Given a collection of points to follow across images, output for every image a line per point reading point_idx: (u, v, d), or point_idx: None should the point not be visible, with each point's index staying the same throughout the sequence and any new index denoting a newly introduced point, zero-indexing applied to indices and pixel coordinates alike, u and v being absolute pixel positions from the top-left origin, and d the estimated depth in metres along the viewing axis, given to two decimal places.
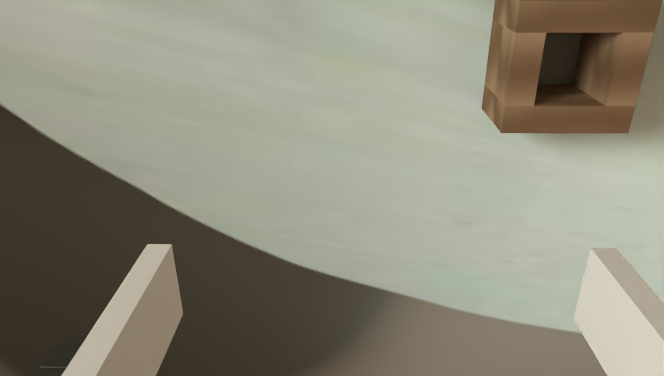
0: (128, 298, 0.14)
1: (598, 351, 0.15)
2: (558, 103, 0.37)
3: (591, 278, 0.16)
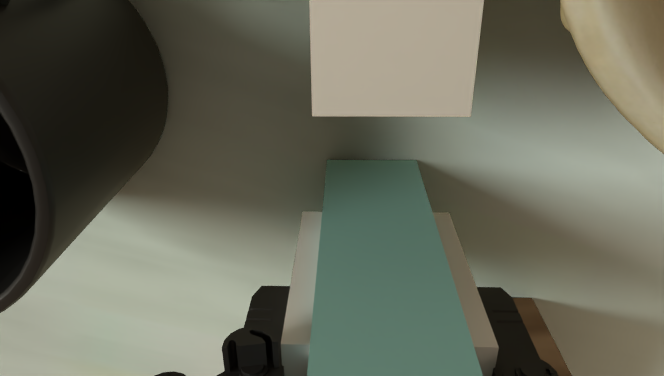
0: (310, 254, 0.15)
1: None
2: None
3: None
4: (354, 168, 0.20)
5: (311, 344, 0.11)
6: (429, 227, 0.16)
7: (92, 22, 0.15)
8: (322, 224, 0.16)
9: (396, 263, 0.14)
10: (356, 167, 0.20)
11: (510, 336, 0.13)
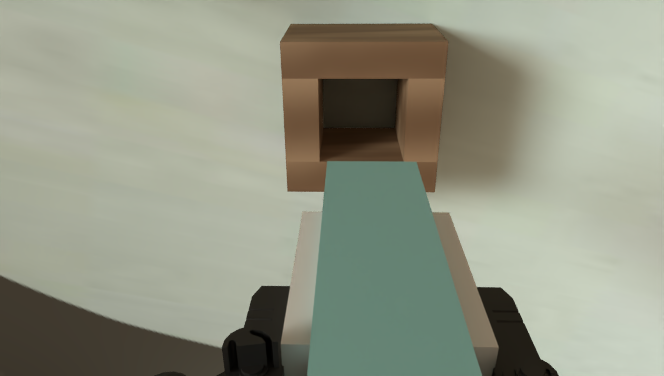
0: (310, 254, 0.15)
1: None
2: (352, 157, 0.31)
3: None
4: (354, 170, 0.20)
5: (311, 347, 0.11)
6: (429, 229, 0.16)
7: None
8: (322, 226, 0.16)
9: (396, 265, 0.14)
10: (356, 168, 0.20)
11: (511, 336, 0.13)
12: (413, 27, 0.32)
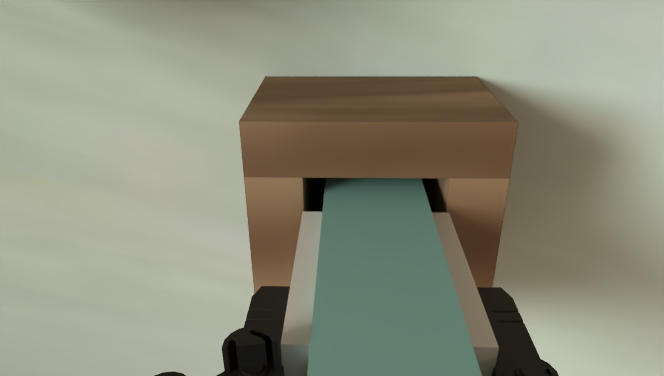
0: (310, 254, 0.15)
1: None
2: None
3: None
4: None
5: (311, 346, 0.11)
6: (429, 229, 0.16)
7: None
8: (322, 226, 0.16)
9: (396, 265, 0.14)
10: None
11: (511, 336, 0.13)
12: (451, 85, 0.21)
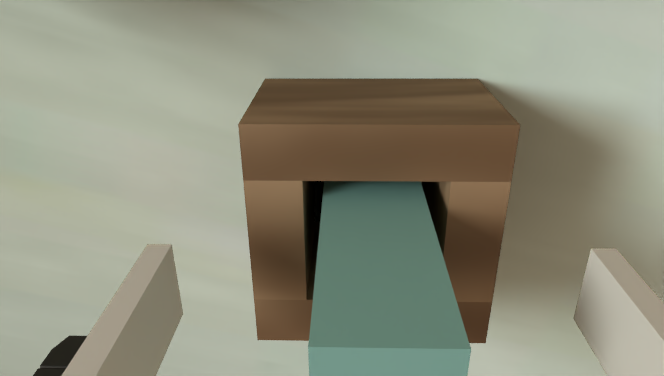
0: (128, 298, 0.14)
1: (598, 351, 0.15)
2: None
3: (591, 278, 0.16)
4: None
5: (316, 281, 0.14)
6: (417, 195, 0.18)
7: None
8: (324, 192, 0.18)
9: (388, 222, 0.16)
10: None
11: None
12: (452, 87, 0.21)
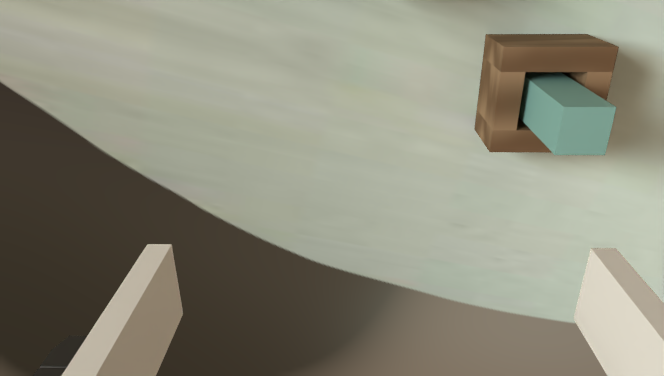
0: (128, 298, 0.14)
1: (598, 351, 0.15)
2: None
3: (591, 278, 0.16)
4: None
5: (552, 97, 0.38)
6: (570, 80, 0.43)
7: None
8: (529, 79, 0.43)
9: (565, 86, 0.41)
10: None
11: None
12: (578, 37, 0.45)
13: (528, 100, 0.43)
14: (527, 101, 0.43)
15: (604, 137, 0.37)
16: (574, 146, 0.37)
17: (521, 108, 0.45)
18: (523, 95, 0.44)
